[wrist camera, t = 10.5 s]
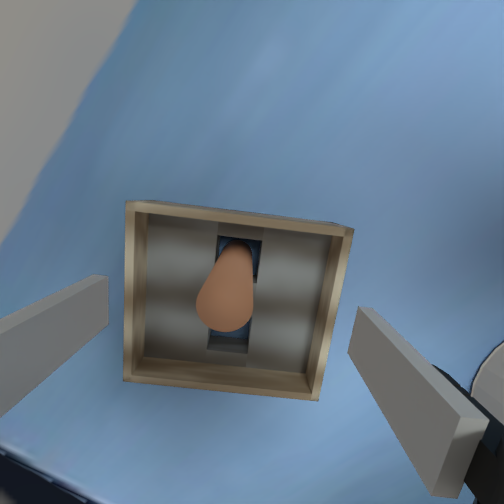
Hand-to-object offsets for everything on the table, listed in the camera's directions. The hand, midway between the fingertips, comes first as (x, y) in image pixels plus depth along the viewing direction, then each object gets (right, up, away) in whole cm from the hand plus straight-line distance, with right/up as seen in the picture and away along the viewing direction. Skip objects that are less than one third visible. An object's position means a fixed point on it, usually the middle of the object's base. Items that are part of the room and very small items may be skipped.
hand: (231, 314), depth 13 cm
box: (-1, -1, +16) cm, 16 cm away
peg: (-1, +3, +15) cm, 16 cm away
